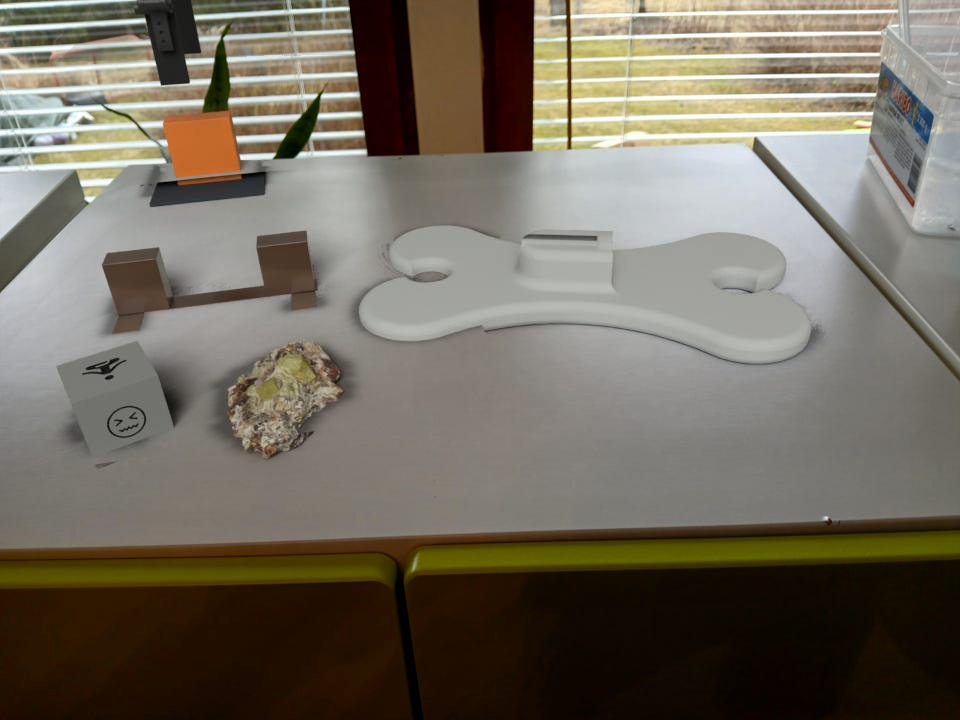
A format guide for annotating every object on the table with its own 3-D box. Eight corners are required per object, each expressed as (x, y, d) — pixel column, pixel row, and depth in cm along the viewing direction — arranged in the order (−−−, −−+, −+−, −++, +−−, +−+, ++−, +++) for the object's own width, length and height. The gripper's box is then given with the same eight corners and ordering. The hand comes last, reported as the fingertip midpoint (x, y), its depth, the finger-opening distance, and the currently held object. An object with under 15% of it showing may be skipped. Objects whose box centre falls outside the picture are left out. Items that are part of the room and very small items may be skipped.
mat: (163, 169, 95) (163, 166, 95) (266, 159, 97) (265, 156, 96) (150, 206, 85) (149, 203, 85) (264, 194, 87) (263, 191, 87)
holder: (402, 241, 75) (397, 191, 73) (773, 251, 71) (783, 198, 68) (347, 348, 60) (338, 290, 57) (819, 371, 55) (835, 308, 52)
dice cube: (157, 401, 55) (137, 340, 52) (177, 439, 51) (157, 375, 48) (80, 428, 53) (55, 366, 50) (96, 469, 49) (71, 404, 46)
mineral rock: (236, 338, 57) (338, 313, 55) (264, 385, 59) (362, 362, 57) (181, 437, 48) (299, 411, 46) (215, 487, 50) (329, 464, 49)
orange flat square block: (180, 177, 91) (165, 116, 87) (243, 170, 92) (230, 110, 88) (178, 185, 89) (162, 123, 85) (242, 179, 90) (229, 117, 86)
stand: (129, 297, 68) (110, 238, 65) (317, 274, 70) (308, 216, 67) (112, 345, 61) (91, 282, 58) (321, 318, 64) (310, 256, 61)
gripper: (155, -178, 63) (210, 96, 74) (186, -173, 83) (225, 40, 95) (54, -176, 61) (126, 102, 73) (111, -172, 82) (160, 44, 93)
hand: (182, 68), depth 84 cm, fingers open, 13 cm apart
